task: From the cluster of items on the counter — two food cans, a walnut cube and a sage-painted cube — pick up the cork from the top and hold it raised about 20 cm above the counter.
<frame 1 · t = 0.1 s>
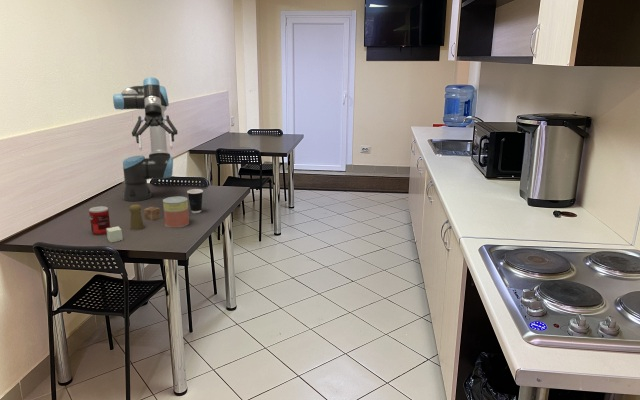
hand: (156, 148, 220), 36 cm above the table, tool tilted 35°, fingers open, 13 cm apart
canned food 2: (177, 224, 228), on the table
canned food: (101, 232, 216), on the table
dixie cup: (196, 211, 246), on the table
cork: (137, 228, 222), on the table
walnut cube: (152, 218, 235), on the table
sage cube: (115, 239, 207), on the table
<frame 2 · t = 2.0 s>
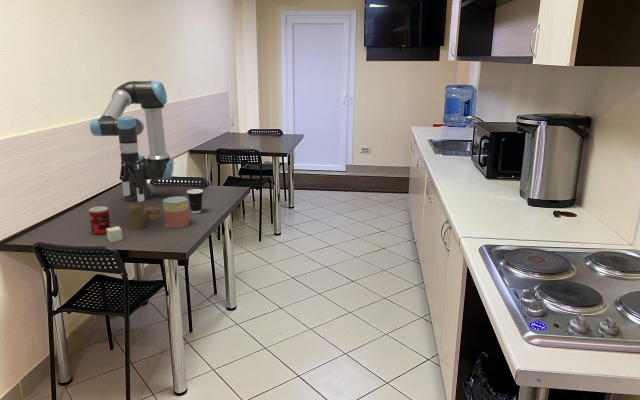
hand: (134, 198, 217), 14 cm above the table, tool pointing down, fingers open, 13 cm apart
nothing on the table moved.
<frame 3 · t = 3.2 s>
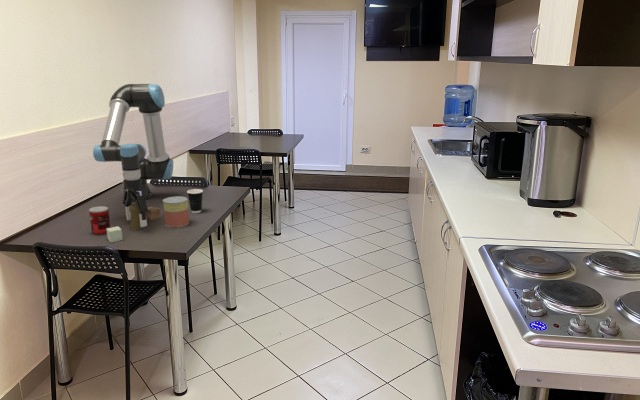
hand: (136, 223, 221), 2 cm above the table, tool pointing down, fingers open, 13 cm apart
nothing on the table moved.
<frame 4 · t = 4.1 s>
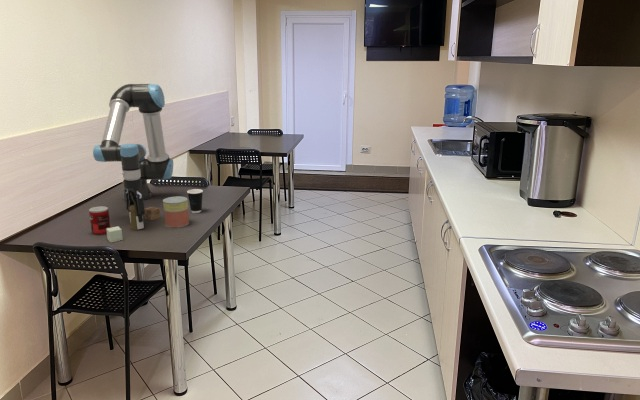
hand: (137, 226, 221), 0 cm above the table, tool pointing down, fingers closed on cork, 6 cm apart
cork: (137, 228, 222), on the table, touching gripper
everything else where it was.
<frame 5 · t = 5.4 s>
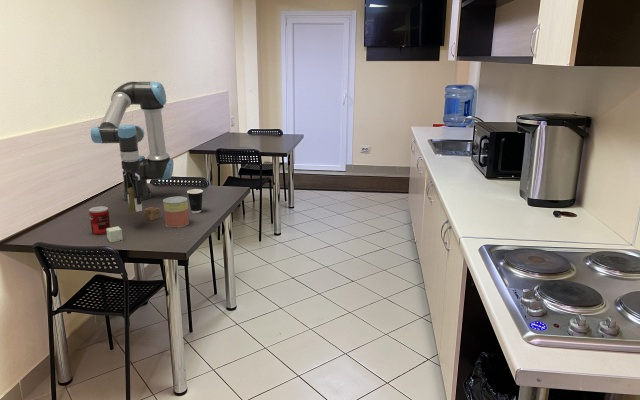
hand: (135, 209, 220), 9 cm above the table, tool pointing down, fingers closed on cork, 6 cm apart
cork: (135, 210, 220), point 8 cm above the table, touching gripper
everything else where it was.
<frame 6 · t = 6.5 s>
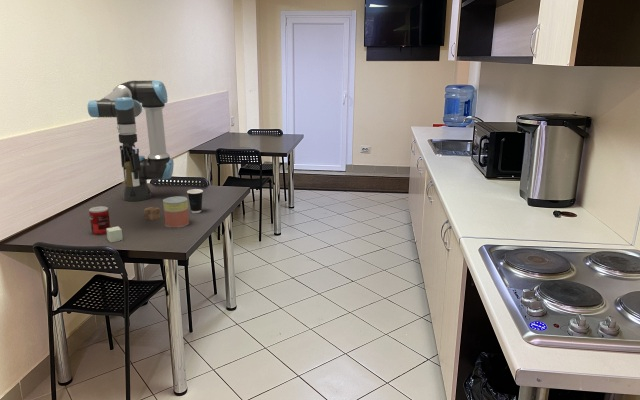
hand: (132, 184, 216), 21 cm above the table, tool pointing down, fingers closed on cork, 6 cm apart
cork: (132, 185, 216), point 20 cm above the table, touching gripper
everything else where it was.
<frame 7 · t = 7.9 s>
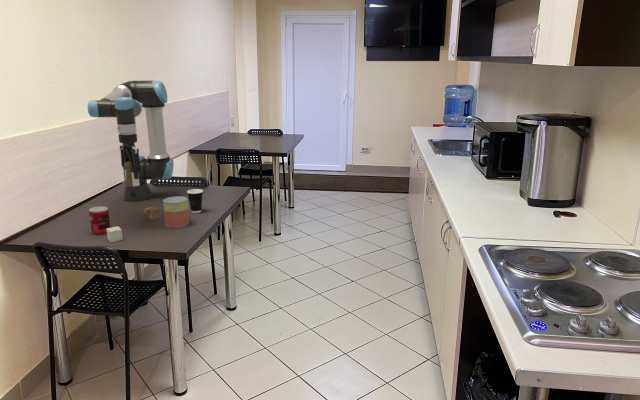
hand: (132, 184, 216), 21 cm above the table, tool pointing down, fingers closed on cork, 6 cm apart
cork: (132, 185, 216), point 20 cm above the table, touching gripper
everything else where it was.
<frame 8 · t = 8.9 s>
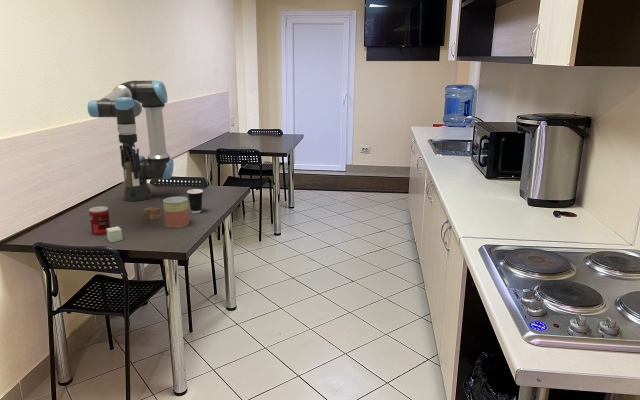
hand: (132, 184, 216), 21 cm above the table, tool pointing down, fingers closed on cork, 6 cm apart
cork: (132, 185, 216), point 20 cm above the table, touching gripper
everything else where it was.
at the end: the gripper is holding cork; cork point 20.2 cm above the table; canned food moved 0.2 cm from its start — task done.
